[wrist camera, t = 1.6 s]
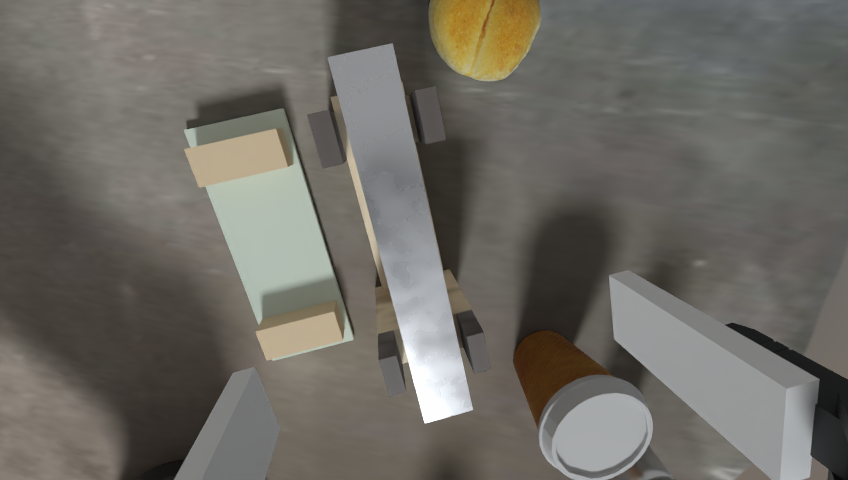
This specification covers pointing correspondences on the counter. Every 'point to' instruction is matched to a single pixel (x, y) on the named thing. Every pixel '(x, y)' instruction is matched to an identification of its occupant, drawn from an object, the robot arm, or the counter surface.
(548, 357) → the disposable coffee cup
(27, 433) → the counter surface
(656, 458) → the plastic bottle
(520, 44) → the bread roll
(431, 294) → the rail
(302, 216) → the rest pad
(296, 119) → the counter surface
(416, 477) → the counter surface
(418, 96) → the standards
